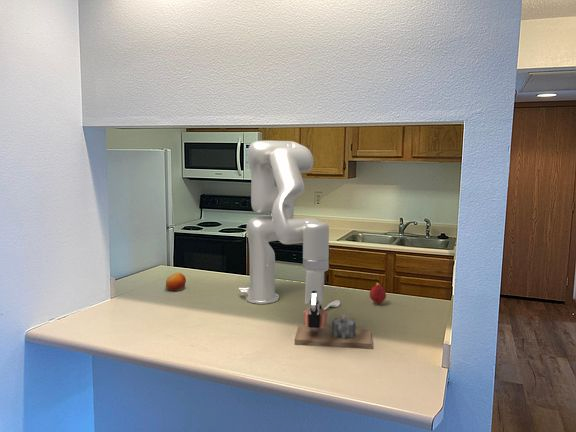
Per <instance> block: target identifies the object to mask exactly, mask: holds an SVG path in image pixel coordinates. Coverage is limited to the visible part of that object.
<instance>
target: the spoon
mask: <svg viewBox="0 0 576 432" xmlns="http://www.w3.org/2000/svg"><path fill="white" fill-rule="evenodd" d="M340 305H341V301H340V300H334V301H333V300H332V301H331V302H330V303H328V304H327V305H326V307H324V308H323V309H324V310H325V311H326V310H327V309H328V308H329V307H332V308H338V307H340Z"/></svg>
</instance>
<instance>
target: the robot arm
mask: <svg viewBox="0 0 576 432" xmlns="http://www.w3.org/2000/svg"><path fill="white" fill-rule="evenodd" d="M247 163H248V167H249V169H250V171H249V172H250V174H251V175H250V178H251V179H250V180H251V185H250V186H251V188H250V192H251V193H250V201H251V202H250V204H251V208H252V211H254V212H255V213H259V214H267V213H268V214H270V213H271V215H261V216H259V215H258V216H255V217H251V218H250V219H249V220H248V221H247V224H246V233H247V239H248V249H249V250H248V253H249V286H247V287H244V286H239V287H238V292H239V293H240V294H246V295H245V300H246V301H247V302H249V303H252V304H258V305H268V304H272V303H276V302H277V301H279V299H280V295H279V294H278V293H277V292H276V256H275V255H276V253H275V251H274V249H273V248H272V245H270V243H271V242H276V241H279V242H280V243H281V244H283V245H295V244H296V245H297V244H302V270H303V271H305V287H304V288H305V290H304V291H305V292H304V304H305V305H306V306H307V305H309V308H310V311H309V327H310V328H320V314H319V309H323V306H322V304H323V298H324V291H325V272H327V271H328V270H329V268H330V267H329V262H330V261H329V257H330V253H329V252H330V251H329V248H330V247H329V246H330V243H329V241H330V227H329V225H328V223H326V222H323V221H319V220H318V219H317V218H314V217H307V218H306V217H305V218H303V217H301V218H294V215H295V214H294V211H295V203H294V201H295V200H294V199H296V198H297V197H299V196H300V195H302V194H303V193H304V191H305V190H306V189H305V186H306V185H305V183H304V180H303V177H302V173H309V172H310V171H311V170H312V169H313V167H314V157H313V154H312V152H311V150H310V149H309V148H308V147H306V146H304V144H301V143H298V142H296V141H292V140H268V139H267V140H257V141H253V142H252V143H251V144H250V145H248V150H247ZM275 184H276V186H275ZM269 242H270V243H269Z"/></svg>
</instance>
